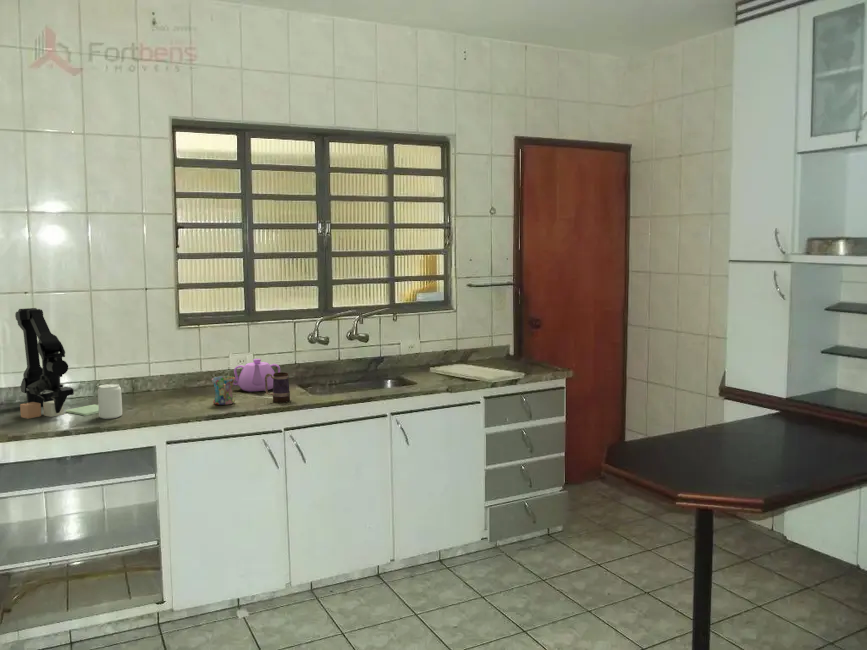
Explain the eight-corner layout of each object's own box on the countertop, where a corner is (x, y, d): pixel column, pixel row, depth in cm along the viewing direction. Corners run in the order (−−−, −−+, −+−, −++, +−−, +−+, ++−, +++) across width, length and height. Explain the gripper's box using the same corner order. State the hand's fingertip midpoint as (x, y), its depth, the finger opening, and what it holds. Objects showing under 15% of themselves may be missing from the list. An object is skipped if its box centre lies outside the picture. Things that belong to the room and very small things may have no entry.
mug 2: (288, 398, 308) (287, 370, 307) (292, 402, 301) (291, 373, 300) (263, 401, 304) (262, 372, 302) (267, 404, 297) (266, 375, 296)
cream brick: (43, 415, 280) (42, 402, 279) (56, 412, 284) (55, 400, 284) (51, 416, 277) (50, 403, 277) (63, 414, 282) (63, 401, 281)
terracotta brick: (20, 417, 277) (19, 404, 277) (33, 414, 282) (32, 401, 281) (28, 418, 275) (27, 405, 274) (41, 416, 279) (40, 403, 278)
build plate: (66, 412, 285) (66, 410, 285) (94, 406, 295) (94, 404, 295) (85, 415, 279) (84, 413, 279) (113, 409, 289) (112, 407, 289)
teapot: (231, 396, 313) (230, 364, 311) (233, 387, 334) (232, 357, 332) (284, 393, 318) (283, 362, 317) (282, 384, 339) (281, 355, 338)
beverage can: (113, 419, 272) (111, 388, 271) (94, 418, 274) (92, 387, 273) (126, 414, 280) (125, 384, 279) (108, 413, 282) (106, 383, 280)
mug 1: (211, 402, 302) (210, 377, 300) (234, 400, 305) (234, 375, 304) (213, 408, 290) (212, 382, 289) (237, 406, 294) (236, 380, 292)
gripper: (16, 373, 277) (19, 413, 279) (44, 377, 267) (47, 419, 269) (44, 368, 286) (47, 407, 288) (73, 372, 277) (75, 413, 278)
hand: (53, 412), depth 281 cm, fingers closed on cream brick, 5 cm apart
